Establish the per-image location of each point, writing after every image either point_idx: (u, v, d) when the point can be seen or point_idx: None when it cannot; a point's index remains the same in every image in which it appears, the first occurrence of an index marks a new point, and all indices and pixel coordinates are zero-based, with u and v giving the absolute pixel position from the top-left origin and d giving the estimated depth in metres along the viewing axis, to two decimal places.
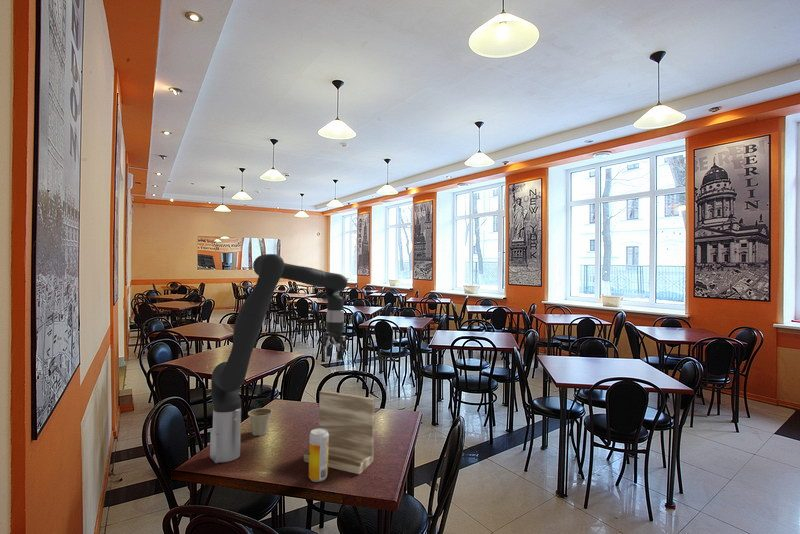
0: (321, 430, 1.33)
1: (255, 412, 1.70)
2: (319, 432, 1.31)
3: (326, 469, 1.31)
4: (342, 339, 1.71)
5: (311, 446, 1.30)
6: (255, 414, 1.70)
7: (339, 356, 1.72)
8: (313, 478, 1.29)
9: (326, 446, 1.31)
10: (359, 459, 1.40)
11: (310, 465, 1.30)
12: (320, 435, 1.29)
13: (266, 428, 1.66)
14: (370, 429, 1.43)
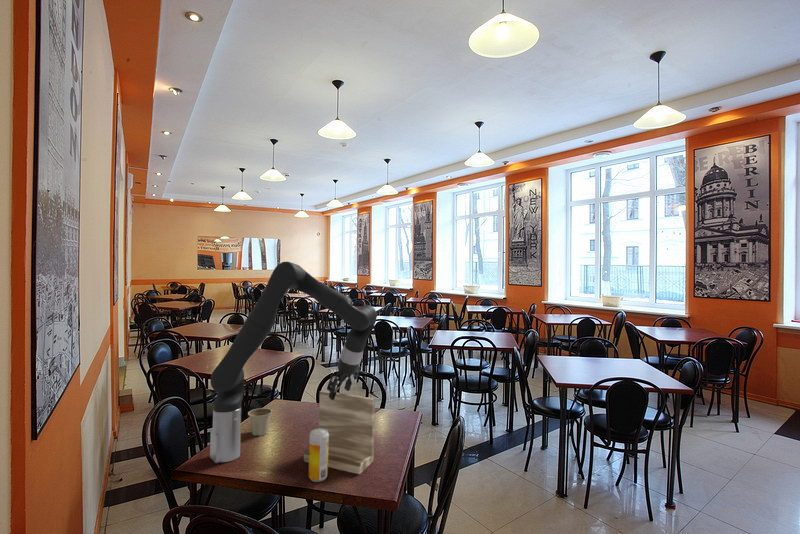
0: (321, 430, 1.33)
1: (255, 412, 1.70)
2: (319, 432, 1.31)
3: (326, 469, 1.31)
4: (331, 379, 1.41)
5: (311, 446, 1.30)
6: (255, 414, 1.70)
7: None
8: (313, 478, 1.29)
9: (326, 446, 1.31)
10: (359, 459, 1.40)
11: (310, 465, 1.30)
12: (320, 435, 1.29)
13: (266, 428, 1.66)
14: (370, 429, 1.43)
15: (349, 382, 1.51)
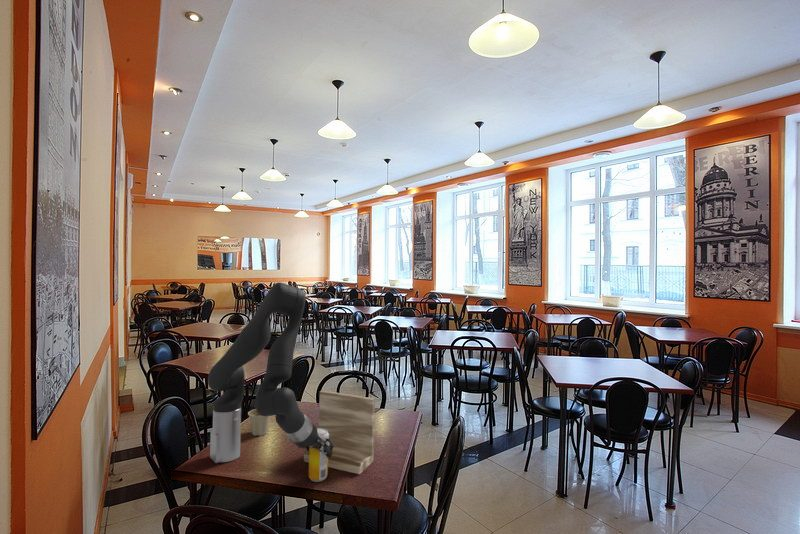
0: (321, 430, 1.33)
1: (255, 412, 1.70)
2: (319, 432, 1.31)
3: (326, 469, 1.31)
4: None
5: None
6: (255, 414, 1.70)
7: None
8: (313, 478, 1.29)
9: None
10: (359, 459, 1.40)
11: (310, 465, 1.30)
12: (320, 435, 1.29)
13: (266, 428, 1.66)
14: (370, 429, 1.43)
15: None
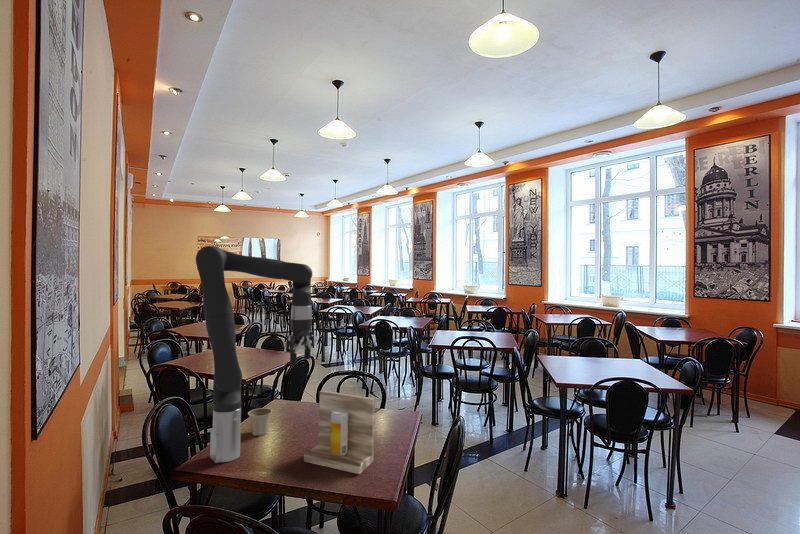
0: (341, 410, 1.45)
1: (255, 412, 1.70)
2: (340, 412, 1.43)
3: (346, 445, 1.43)
4: (287, 339, 1.46)
5: (333, 424, 1.42)
6: (255, 414, 1.70)
7: None
8: (335, 453, 1.41)
9: (346, 424, 1.43)
10: (359, 459, 1.40)
11: (332, 442, 1.42)
12: (341, 414, 1.41)
13: (266, 428, 1.66)
14: (370, 429, 1.43)
15: (307, 349, 1.55)
